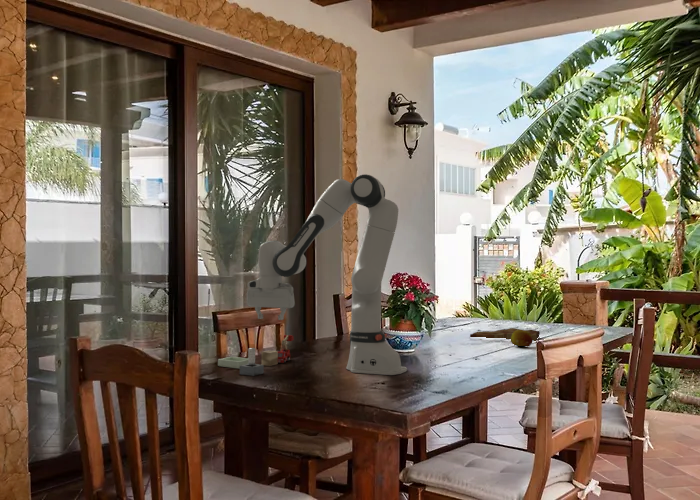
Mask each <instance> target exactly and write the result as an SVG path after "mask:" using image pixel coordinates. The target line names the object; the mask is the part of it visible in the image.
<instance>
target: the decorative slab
mask: <svg viewBox="0 0 700 500" xmlns="http://www.w3.org/2000/svg"><path fill="white" fill-rule="evenodd" d="M516 330H521V331H528V332H530V334H531V336H532V340H534V341H536V340H537V338H538V337H539V335H541V334H540V330H536V329H521V328H516V327H509V328H506V329H505V328H503V329H499V330H494V331H491V330H489V331H488V330H486V331H485V330H483V331H475V332H473V333H470V335H469V338H470V337H486V338H506V339H511V336H512V334H513V332H514V331H516ZM539 338H540V337H539Z"/></svg>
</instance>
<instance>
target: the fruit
mask: <svg viewBox="0 0 700 500" xmlns="http://www.w3.org/2000/svg"><path fill="white" fill-rule="evenodd" d="M521 330H522V329H521ZM521 330H516V331H514V332H513V334H512V336H511V342H510V343H512V345H513V344H514V346H515V345H518V346H529V347H530V346H531V345H532V344H533V343H532V336H531V334H530V332H528V331H521Z"/></svg>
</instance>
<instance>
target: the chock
mask: <svg viewBox="0 0 700 500" xmlns="http://www.w3.org/2000/svg"><path fill="white" fill-rule="evenodd" d="M278 351H279V350H269V349H268V350H264V351H261V364H260V365H264V366H266V367H267V366H268V367H270V366H271V367H272V366H277V365H278V363H279V362H278Z"/></svg>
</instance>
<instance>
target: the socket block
mask: <svg viewBox="0 0 700 500" xmlns="http://www.w3.org/2000/svg"><path fill="white" fill-rule="evenodd" d="M264 366H265V365H261V364H259V363H255V366H248V364H245V365H241V366H240V369H239V375H242V376H250V377H255V376H258V375H262V374H264V371H265V369H264Z"/></svg>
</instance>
